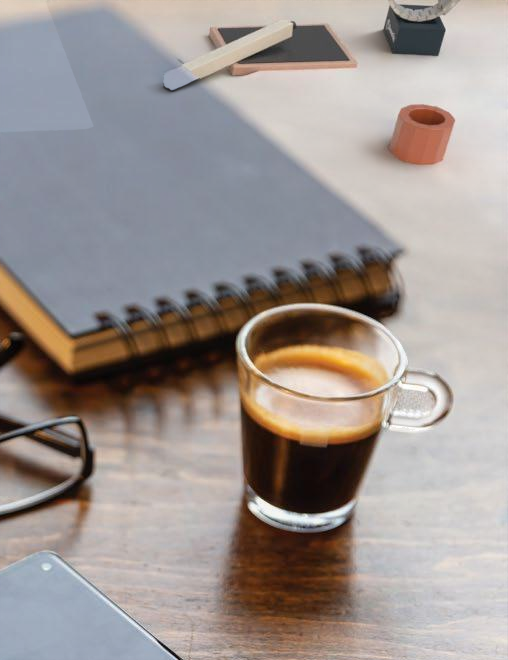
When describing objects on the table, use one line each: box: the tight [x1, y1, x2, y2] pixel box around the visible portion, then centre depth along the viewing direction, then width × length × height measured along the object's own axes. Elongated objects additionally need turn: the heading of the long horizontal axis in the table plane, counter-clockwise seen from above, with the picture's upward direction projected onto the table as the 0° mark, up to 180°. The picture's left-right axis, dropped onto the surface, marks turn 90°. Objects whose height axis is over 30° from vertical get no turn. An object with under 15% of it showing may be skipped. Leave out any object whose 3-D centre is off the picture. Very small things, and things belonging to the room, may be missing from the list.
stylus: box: [181, 18, 297, 80], centre depth 125 cm, size 1×1×16 cm
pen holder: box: [388, 103, 456, 166], centre depth 110 cm, size 4×4×5 cm
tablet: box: [208, 23, 358, 76], centre depth 128 cm, size 12×9×1 cm
